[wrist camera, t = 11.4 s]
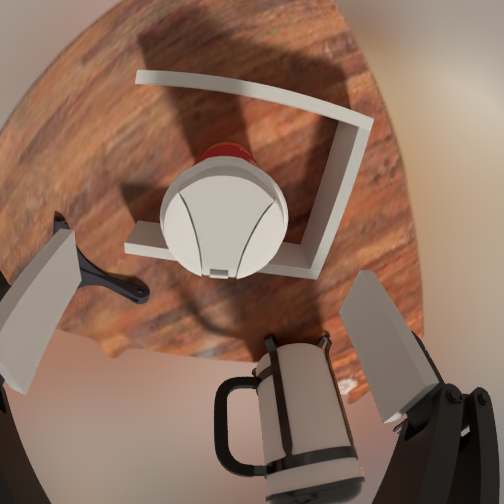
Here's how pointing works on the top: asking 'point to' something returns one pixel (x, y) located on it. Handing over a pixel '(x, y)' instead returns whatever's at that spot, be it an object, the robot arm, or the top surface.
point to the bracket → (104, 275)
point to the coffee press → (296, 427)
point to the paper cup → (224, 214)
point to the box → (330, 190)
